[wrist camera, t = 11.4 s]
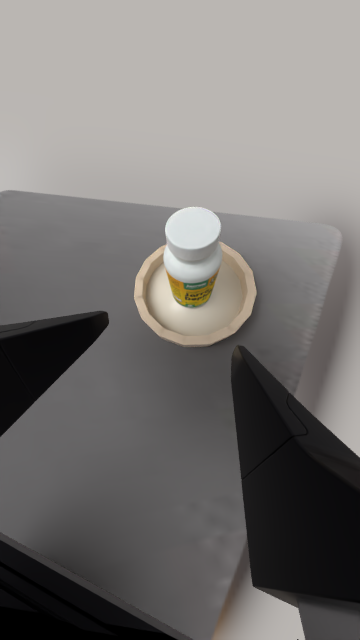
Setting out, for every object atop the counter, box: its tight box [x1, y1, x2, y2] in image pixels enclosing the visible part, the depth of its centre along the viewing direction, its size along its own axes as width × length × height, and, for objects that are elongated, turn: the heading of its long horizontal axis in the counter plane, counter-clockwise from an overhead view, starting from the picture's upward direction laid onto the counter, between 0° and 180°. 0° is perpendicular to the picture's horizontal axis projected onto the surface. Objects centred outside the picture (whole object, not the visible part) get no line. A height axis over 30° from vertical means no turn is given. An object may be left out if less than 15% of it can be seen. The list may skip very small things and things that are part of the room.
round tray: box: [134, 242, 257, 347], centre depth 19 cm, size 15×15×2 cm
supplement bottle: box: [163, 207, 222, 309], centre depth 14 cm, size 5×5×10 cm
